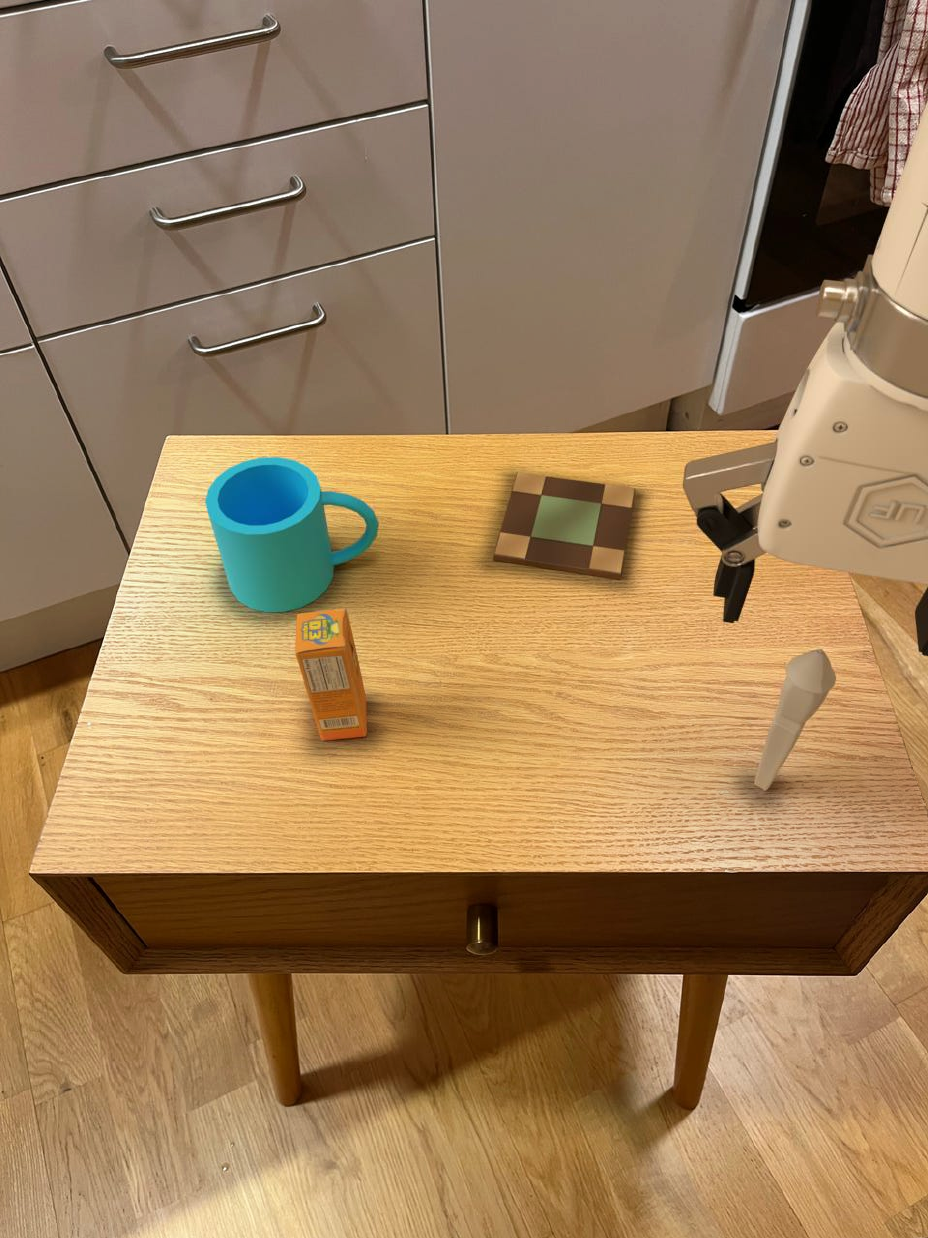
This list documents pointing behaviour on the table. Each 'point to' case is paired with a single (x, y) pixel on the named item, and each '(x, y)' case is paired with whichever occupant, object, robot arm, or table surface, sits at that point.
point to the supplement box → (331, 673)
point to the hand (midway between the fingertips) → (825, 618)
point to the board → (566, 525)
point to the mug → (279, 532)
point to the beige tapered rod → (794, 710)
